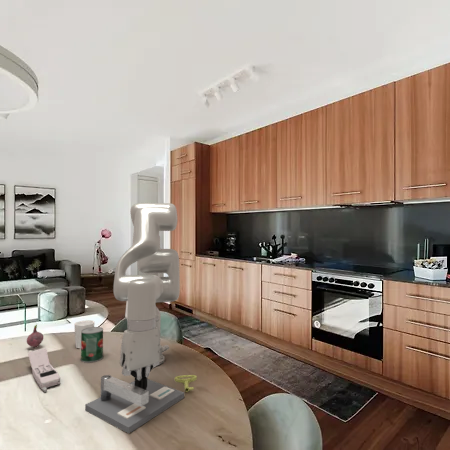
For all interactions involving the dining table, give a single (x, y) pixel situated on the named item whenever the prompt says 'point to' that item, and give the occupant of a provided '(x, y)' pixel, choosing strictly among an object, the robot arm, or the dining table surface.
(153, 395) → the label panel
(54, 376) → the mobile phone
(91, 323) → the white cup
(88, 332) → the canned tomato
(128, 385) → the swing arm
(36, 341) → the vegetable
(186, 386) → the key
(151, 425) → the dining table surface
